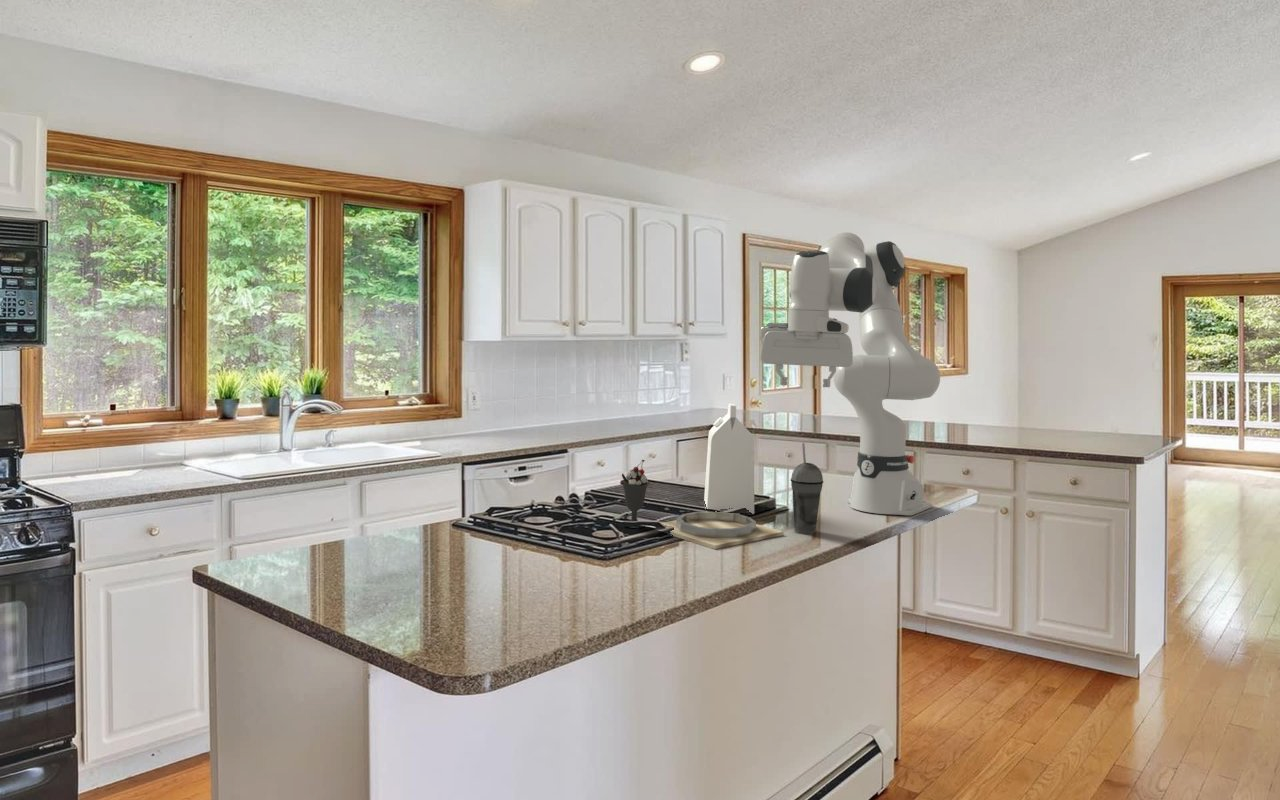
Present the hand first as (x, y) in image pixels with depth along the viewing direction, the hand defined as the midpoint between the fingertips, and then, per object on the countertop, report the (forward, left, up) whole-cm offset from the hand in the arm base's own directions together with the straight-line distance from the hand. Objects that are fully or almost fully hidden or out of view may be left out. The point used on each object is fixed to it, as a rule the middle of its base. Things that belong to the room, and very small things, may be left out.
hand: (804, 386), depth 193 cm
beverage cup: (+1, +2, -33) cm, 33 cm away
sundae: (+30, -23, -33) cm, 50 cm away
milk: (-2, -25, -33) cm, 41 cm away
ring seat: (+18, -9, -33) cm, 38 cm away
